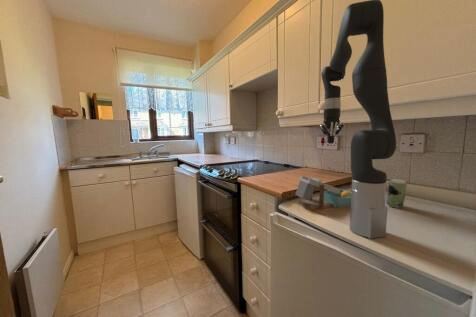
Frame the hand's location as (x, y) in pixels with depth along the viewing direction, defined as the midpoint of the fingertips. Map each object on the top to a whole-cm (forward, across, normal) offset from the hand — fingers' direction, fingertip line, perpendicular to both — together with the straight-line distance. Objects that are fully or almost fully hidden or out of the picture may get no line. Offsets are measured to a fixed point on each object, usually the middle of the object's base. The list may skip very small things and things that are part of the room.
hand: (330, 143), depth 101 cm
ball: (+24, +1, -10) cm, 26 cm away
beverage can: (+27, +16, -22) cm, 38 cm away
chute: (+25, -16, -8) cm, 31 cm away
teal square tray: (+27, -2, -10) cm, 29 cm away
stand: (+27, -15, -10) cm, 32 cm away
